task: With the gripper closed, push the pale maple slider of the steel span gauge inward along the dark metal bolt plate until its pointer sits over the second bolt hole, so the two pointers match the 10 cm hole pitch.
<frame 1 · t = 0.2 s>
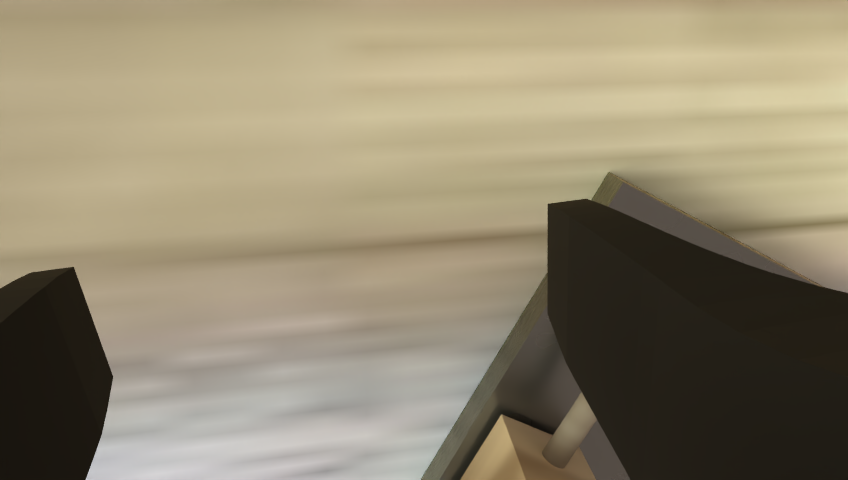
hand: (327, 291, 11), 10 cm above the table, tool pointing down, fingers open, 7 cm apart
slider: (553, 475, 21), point 4 cm above the table, slide at 4.0 cm
bolt plate: (728, 455, 26), on the table
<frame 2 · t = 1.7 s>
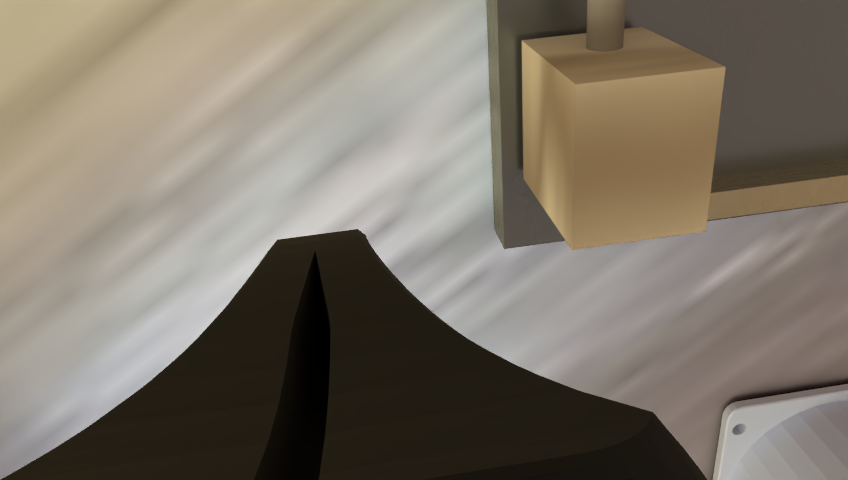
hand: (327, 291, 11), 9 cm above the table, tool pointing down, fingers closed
slider: (612, 63, 16), point 4 cm above the table, slide at 4.0 cm
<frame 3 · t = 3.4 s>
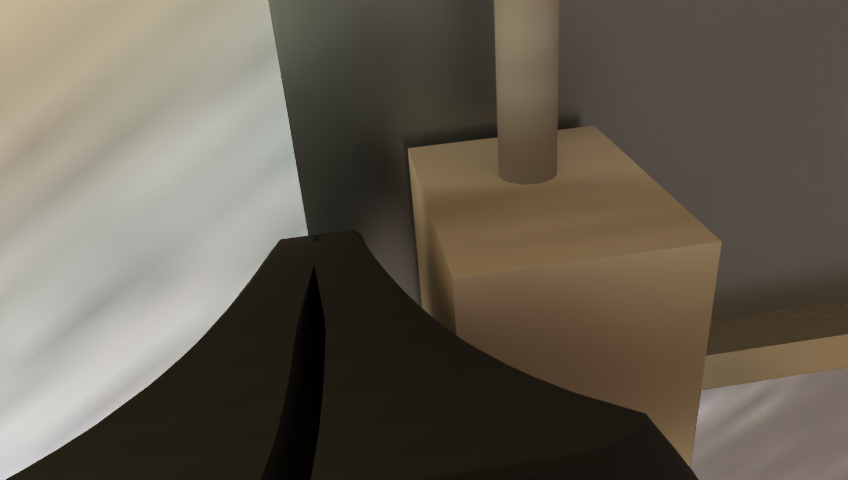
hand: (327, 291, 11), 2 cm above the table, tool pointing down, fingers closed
slider: (537, 203, 10), point 4 cm above the table, slide at 2.7 cm, touching gripper
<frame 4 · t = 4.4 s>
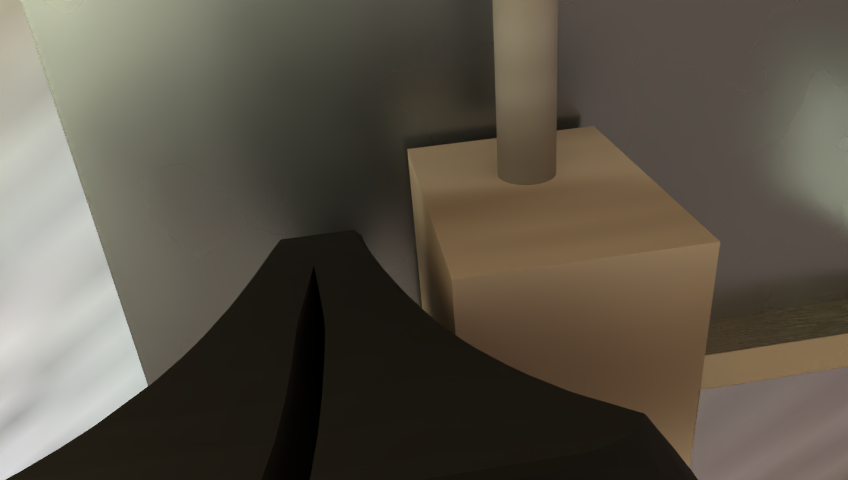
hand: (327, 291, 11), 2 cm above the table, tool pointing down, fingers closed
slider: (536, 204, 10), point 3 cm above the table, slide at -0.5 cm, touching gripper
bolt plate: (677, 17, 12), on the table
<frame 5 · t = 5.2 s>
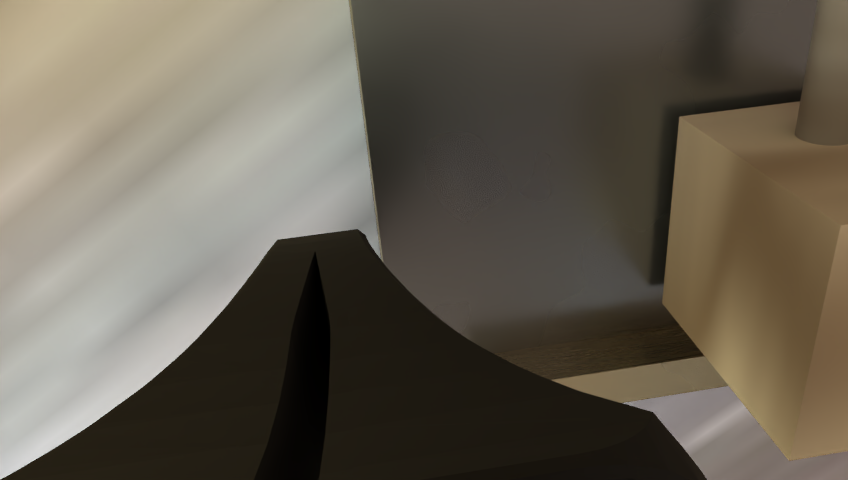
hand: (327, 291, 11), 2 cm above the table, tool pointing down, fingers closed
slider: (844, 164, 10), point 4 cm above the table, slide at -0.5 cm
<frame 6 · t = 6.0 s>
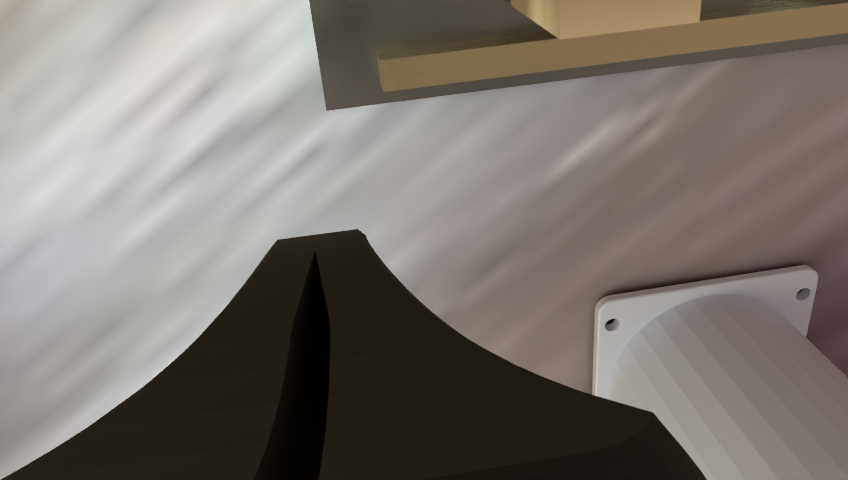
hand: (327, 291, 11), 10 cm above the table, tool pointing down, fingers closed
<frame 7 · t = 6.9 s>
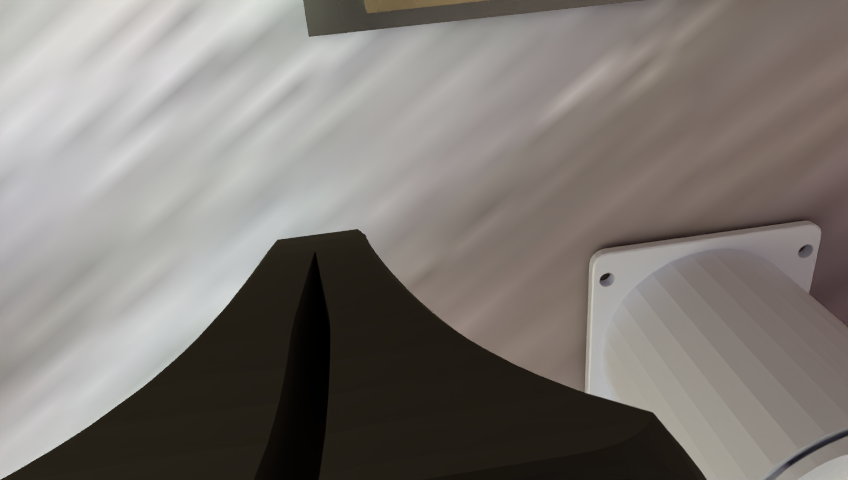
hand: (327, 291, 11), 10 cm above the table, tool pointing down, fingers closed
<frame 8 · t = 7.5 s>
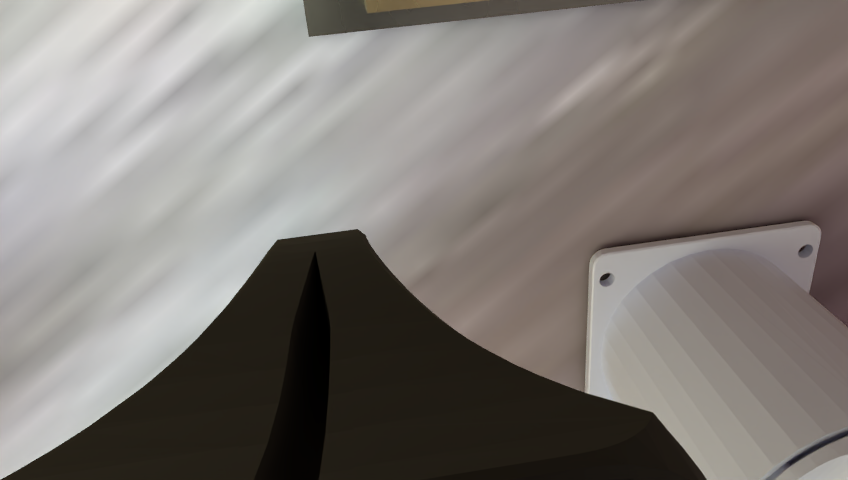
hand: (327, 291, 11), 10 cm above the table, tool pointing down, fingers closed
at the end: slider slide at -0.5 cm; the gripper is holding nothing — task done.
